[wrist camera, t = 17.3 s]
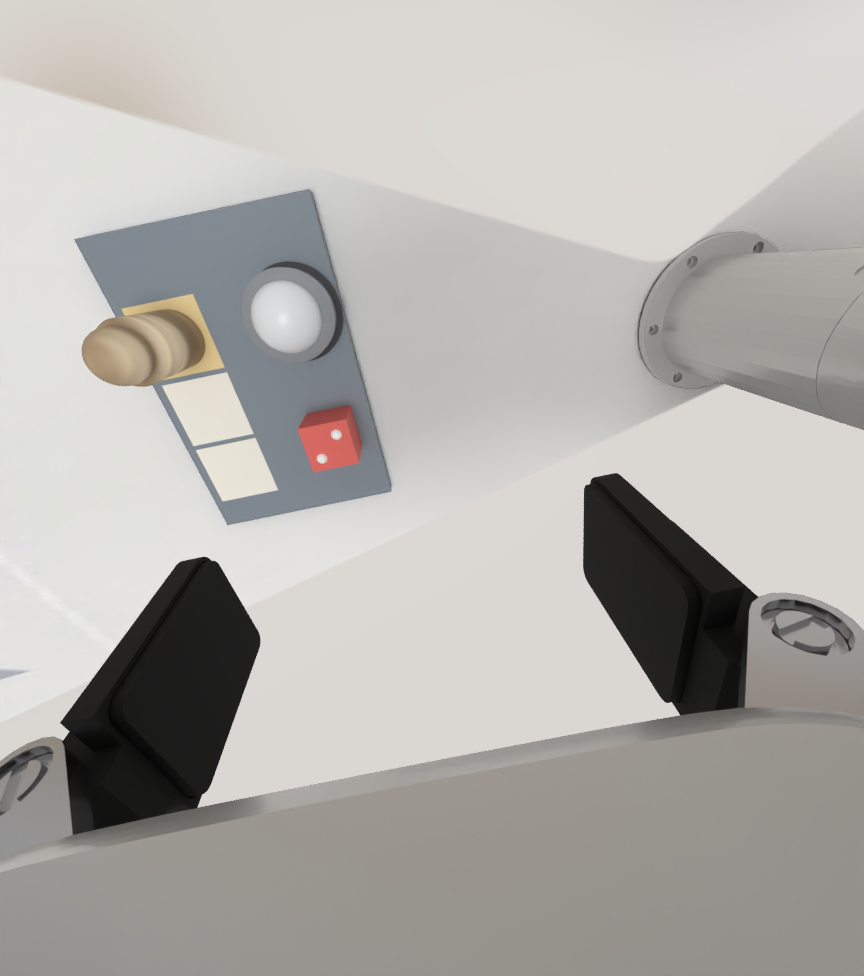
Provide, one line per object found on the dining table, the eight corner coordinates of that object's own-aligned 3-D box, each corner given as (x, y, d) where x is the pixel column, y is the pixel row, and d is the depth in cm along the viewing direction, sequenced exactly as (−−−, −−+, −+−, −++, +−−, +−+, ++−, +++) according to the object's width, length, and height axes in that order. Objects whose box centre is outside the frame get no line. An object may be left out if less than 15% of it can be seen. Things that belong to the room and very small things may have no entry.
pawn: (190, 304, 30) (116, 317, 22) (214, 362, 32) (154, 392, 24) (134, 314, 30) (41, 329, 22) (161, 371, 32) (85, 404, 25)
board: (313, 192, 29) (297, 175, 24) (392, 485, 41) (392, 514, 36) (85, 240, 29) (23, 233, 24) (231, 518, 41) (210, 551, 36)
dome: (321, 259, 29) (310, 256, 25) (347, 348, 32) (340, 360, 28) (236, 277, 29) (210, 278, 25) (270, 364, 32) (251, 378, 28)
